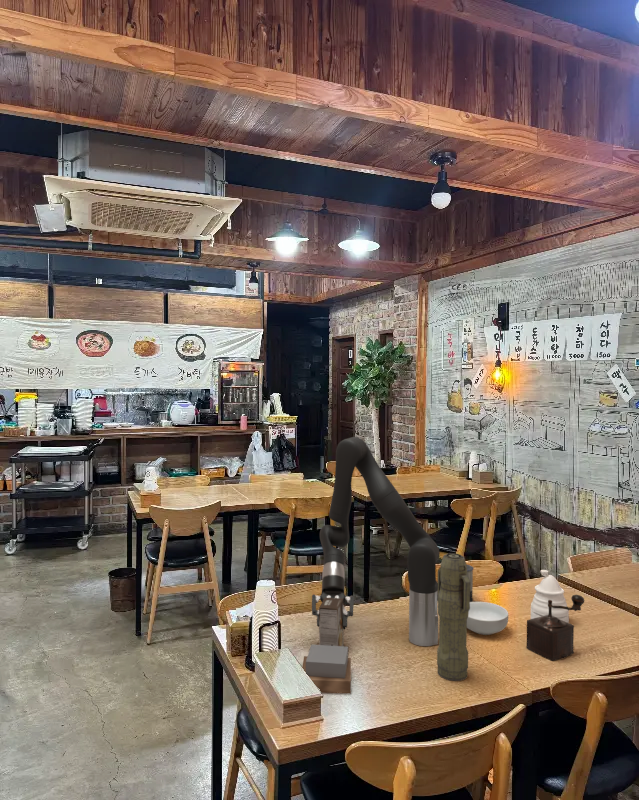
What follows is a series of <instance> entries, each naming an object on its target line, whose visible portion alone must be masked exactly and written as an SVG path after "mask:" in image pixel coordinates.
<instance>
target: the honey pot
mask: <svg viewBox="0 0 639 800" xmlns="http://www.w3.org/2000/svg"><path fill="white" fill-rule="evenodd" d="M540 574H541V575H542V576H543V579H541V581H540V583H539V584H537V585H535V586H534V591H535V593H534V595H533V598H532V601H531V602H530V603H531V604H530V619H534V618H537V617H541V616H545V615H549V607H548V604H549V603H548V600H552V605H553V606H565V607H568V603H567V599H566V598H565V595H564V594H565V590H564V589H563V588H562V587H561V586H560V583H559V581H558V580H557V579H556V577H555V576H553V575H552V574H549V570H547V569H541V570H540ZM569 611H570V610H567V609H561V608H552V616H554V617H557V618H558V619H560V620H562V621H565V622H567V623H570V618H569V617H570V614H569V613H570V612H569Z"/></svg>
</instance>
